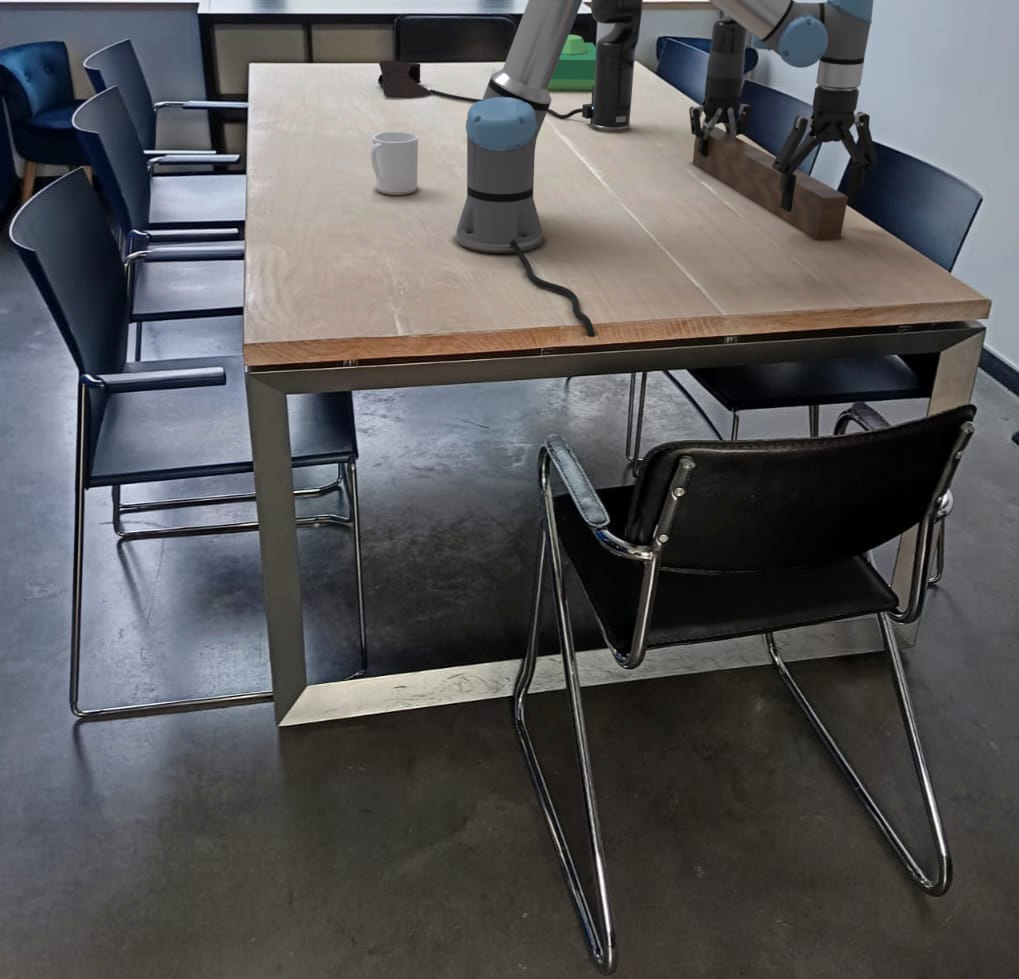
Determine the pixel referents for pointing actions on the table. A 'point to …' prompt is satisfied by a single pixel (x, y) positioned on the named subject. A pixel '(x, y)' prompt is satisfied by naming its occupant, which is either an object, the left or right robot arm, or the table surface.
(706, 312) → the table surface
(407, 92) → the axe head
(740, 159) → the beam
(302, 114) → the table surface
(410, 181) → the mug
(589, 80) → the toy tank
